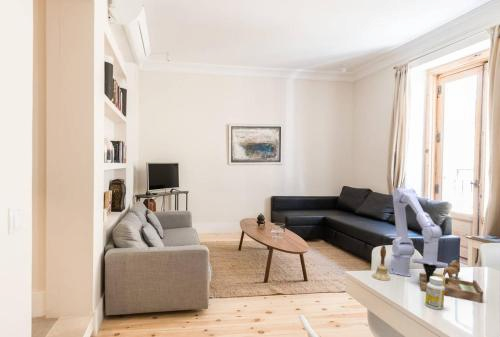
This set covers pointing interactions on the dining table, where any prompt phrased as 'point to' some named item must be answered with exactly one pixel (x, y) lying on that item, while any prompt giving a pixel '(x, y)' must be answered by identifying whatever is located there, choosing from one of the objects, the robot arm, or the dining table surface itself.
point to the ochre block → (440, 277)
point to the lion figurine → (452, 269)
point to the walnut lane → (457, 288)
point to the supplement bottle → (435, 293)
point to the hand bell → (382, 268)
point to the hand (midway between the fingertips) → (428, 280)
